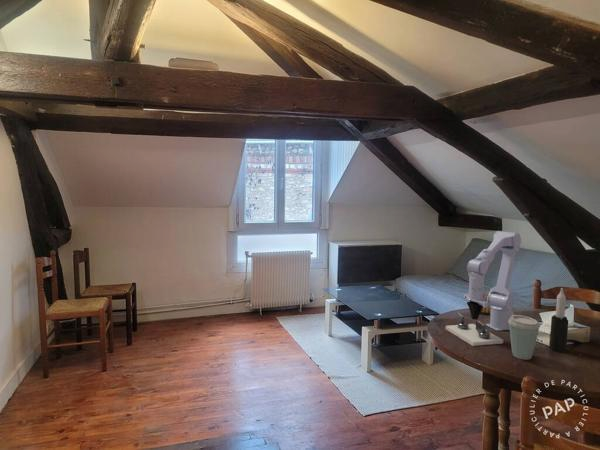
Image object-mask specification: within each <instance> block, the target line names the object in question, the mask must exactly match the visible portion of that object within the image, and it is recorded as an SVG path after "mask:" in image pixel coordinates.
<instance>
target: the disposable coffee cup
mask: <svg viewBox="0 0 600 450" xmlns="http://www.w3.org/2000/svg"><path fill="white" fill-rule="evenodd" d="M508 323H509V328H510V330H509V336H510V344H511V345H510V346H511V352H512V353H511V354H512V356H513V357H515V359H516V358H517V359H518V360H519V359H520V360H527V361H528V360H531V359H532V357H533V354H534V350H535V348H536V342H537V338H538V335H539V330H540V328H541V324H540V323H539V322H538V320H536V319H535V318H532V317H530V316H525V315H523V314H522V315H520V314H514V315H512V316H510V319H509V321H508Z"/></svg>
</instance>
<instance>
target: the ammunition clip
mask: <svg viewBox="0 0 600 450" xmlns="http://www.w3.org/2000/svg"><path fill="white" fill-rule="evenodd" d="M488 294H489V291H488V290H487V291H486V293H485V291H484V290H483V299H484V300H486V301H487V296H488ZM497 294H501V293H497ZM479 315H483V316H484V315H485V316H490V315H491V308H490V307H483V308H482V310H481V312H480V314H479Z"/></svg>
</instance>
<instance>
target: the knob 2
mask: <svg viewBox="0 0 600 450" xmlns="http://www.w3.org/2000/svg"><path fill="white" fill-rule="evenodd" d="M475 325H476V330H477V331H478V332H479V337H481V338H485V339H488V338H490V333H491V332H490V333H489V331H488V332H486V331H485V330H487V329H486V326H487V325H486V324H484V323H483V322H481V321H480V320H475Z"/></svg>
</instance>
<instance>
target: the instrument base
mask: <svg viewBox="0 0 600 450" xmlns="http://www.w3.org/2000/svg"><path fill="white" fill-rule="evenodd" d="M445 330H446V331H448V332H450V333H452V335H455V336H457V337H458V338H459V339H461V340H462V341H464V342H465V343H467V344H469V345H471V346H472V347H475V346H485V345H497V344H498V345H499V344H500V345H501V344H504V339H502V338H501V337H499V336H497V335H495V334H493V333H491V332H489V330H488V329H486V330H485V331H486V332H489V333H490V338H488V339H485V338H481V337H479V332H478V331H477V330H476V323H468V329H461V328H458V324H454V325H453V324H451V325H445Z"/></svg>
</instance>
